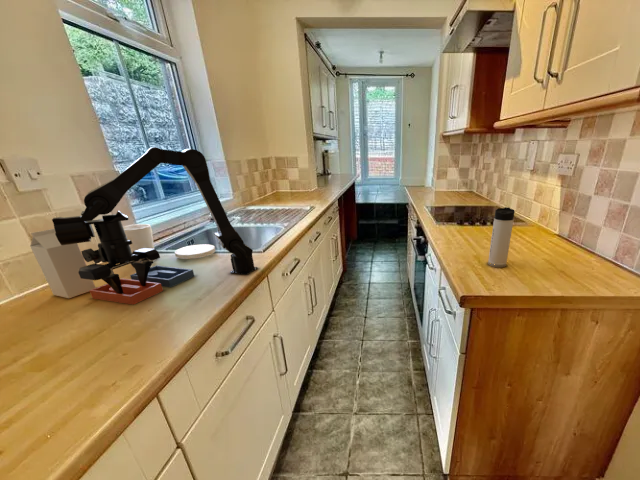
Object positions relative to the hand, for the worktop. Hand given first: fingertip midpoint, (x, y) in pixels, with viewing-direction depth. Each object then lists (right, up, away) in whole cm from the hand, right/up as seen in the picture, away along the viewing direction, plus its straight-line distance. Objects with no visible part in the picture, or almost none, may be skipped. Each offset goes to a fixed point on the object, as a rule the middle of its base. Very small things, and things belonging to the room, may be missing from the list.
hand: (132, 290), depth 92 cm
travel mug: (+114, +9, +23) cm, 117 cm away
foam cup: (-18, +11, +29) cm, 36 cm away
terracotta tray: (-2, -1, +1) cm, 3 cm away
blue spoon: (+1, +4, +11) cm, 12 cm away
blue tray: (+1, +4, +12) cm, 12 cm away
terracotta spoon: (-2, -1, +1) cm, 3 cm away
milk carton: (-19, -1, +3) cm, 20 cm away
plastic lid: (-1, +14, +34) cm, 37 cm away
